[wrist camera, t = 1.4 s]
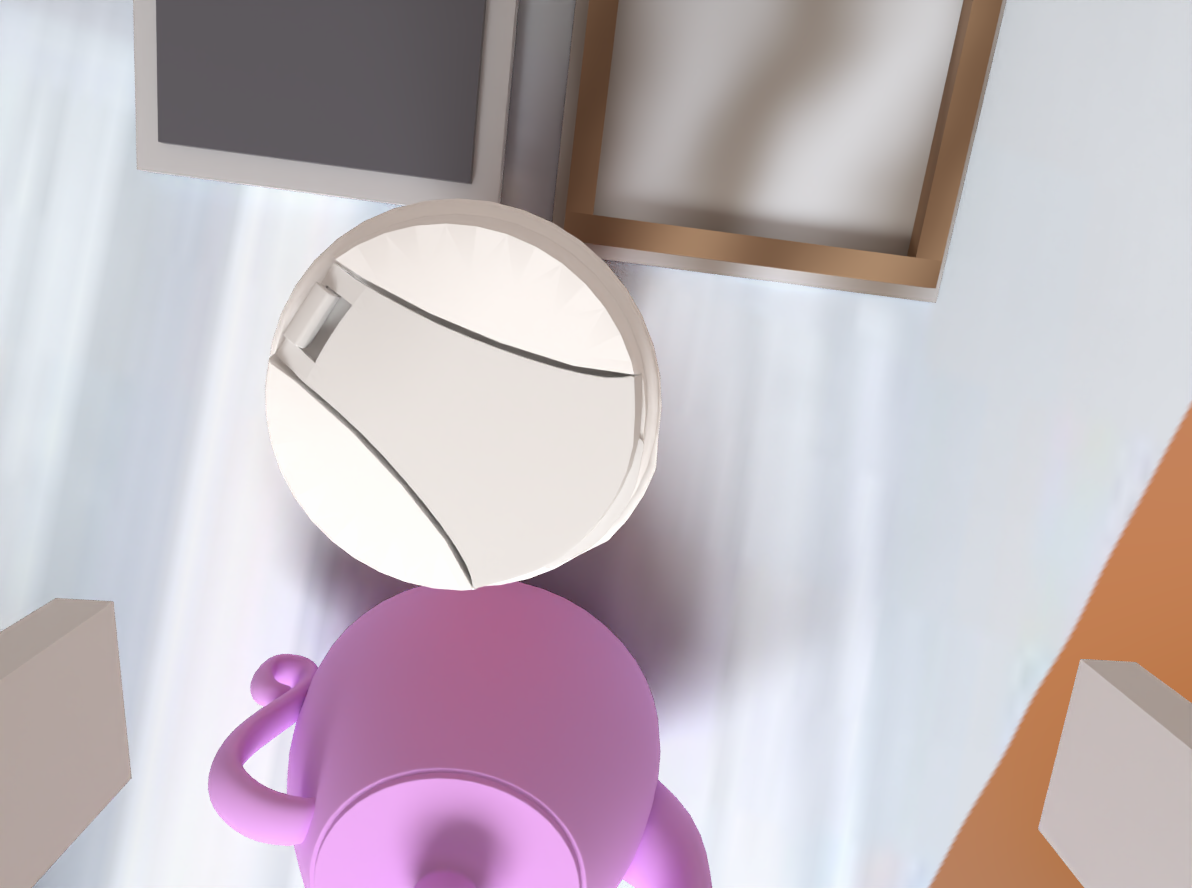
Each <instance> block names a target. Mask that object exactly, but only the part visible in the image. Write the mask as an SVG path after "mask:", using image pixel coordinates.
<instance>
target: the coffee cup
mask: <svg viewBox="0 0 1192 888" xmlns="http://www.w3.org/2000/svg"><path fill="white" fill-rule="evenodd" d="M265 399H266V419H267V424H268V430H269V435H270V441H271V445H272V448H273V451H274V454H275V457H276V460H277V462H278V465H279V468H280V471H281V473H282V475H283V477H284V479H285V481H286V483H287V484H288V486H289V488H290V490H291V492H292V494H293V496H294V497H295V499H296V500H297V502H298V503H299V504H300V506H301V507H302V508H303V510H304V511H305V512H306V514H307V515H308V517H309V518H310V519H311V521H312V522H313V523H314V524H315V525H316V526H317V527H318V528H319V529H320V530H321V531H322V532H323V533H324V534H325V535H326V536H327V537H328V538H329V539H330V540H331V541H332V542H334V543H335V544H336V545H338V546H339V547H340V548H342V549H343V550H344V551H346V552H347V553H348V554H350V555H351V556H352V557H354V558H355V559H357V560H359V561H360V562H362V563H364V564H366V565H368V566H370V567H371V568H373V569H375V570H377V571H379V572H381V573H383V574H386V575H389V576H391V577H394V578H397V579H399V580H402V581H404V582H408V583H412V584H417V585H421V586H426V587H430V588H437V589H450V590H475V589H477V588H479V587H483V586H491V585H502V584H507V583H511V582H516V581H521V580H525V579H529V578H532V577H535V576H537V575H540V574H542V573H545V572H548V571H550V570H553V569H556V568H557V567H559V566H561V565H563V564H564V563H566V562H568V561H570V560H571V559H573V558H575V557H577V556H578V555H580V554H582V553H584V552H586V551H588V550H590V549H592V548H594V547H596V546H598V545H600V544H602V543H604V542H606V541H608V540H609V539H610V538H611V537H612V536H613V535H614V534H615V533H616V532H617V530H618V529H619V528H620V527H621V526H622V525H623V524H624V523H625V522H626V521H627V520H628V518H629V517H630V515H631V514H632V512H633V511H634V509H635V508H636V506H637V505H638V503H639V502H640V500H641V499H642V497H643V496H644V494H645V492H646V490H647V487H648V485H649V483H650V481H651V479H652V476H653V474H654V472H655V470H656V462H657V448H658V435H659V426H660V417H661V408H662V404H661V384H660V373H659V368H658V364H657V359H656V354H655V350H654V345H653V342H652V340H651V337H650V335H649V332H648V330H647V327H646V324H645V322H644V319H643V317H642V315H641V313H640V311H639V309H638V308H637V306H636V304H635V303H634V301H633V299H632V297H631V296H630V294H629V292H628V290H627V289H626V287H625V286H624V285H623V284H622V282H621V281H620V280H619V279H618V277H617V276H616V275H615V274H614V273H613V271H612V270H611V269H610V268H609V266H608V265H607V264H606V263H605V262H604V261H603V260H602V259H601V258H600V257H598V256H597V255H596V254H595V253H594V252H593V251H592V250H591V249H590V248H588V247H587V246H586V245H585V244H584V243H583V242H582V241H580V240H579V239H577V238H576V237H574V236H573V235H571V234H570V233H568V232H566V231H565V230H563V229H562V228H560V227H559V226H557V225H556V224H554V223H552V222H550V221H548V220H545V219H543V218H541V217H539V216H536V215H534V214H532V213H529V212H527V211H525V210H522V209H518V208H515V207H511V206H507V205H503V204H499V203H495V202H491V201H481V200H470V199H460V198H456V199H443V200H429V201H422V202H418V203H414V204H410V205H406V206H402V207H398V208H394V209H391V210H389V211H387V212H385V213H382V214H380V215H378V216H375V217H373V218H371V219H369V220H366V221H364V222H362V223H361V224H359V225H358V226H356V227H355V228H353V229H352V230H350V231H349V232H347V233H346V234H344V235H343V236H341V237H340V238H338V239H337V240H336V241H335V242H334V243H333V244H331V245H330V246H329V247H328V248H327V249H326V250H325V251H324V252H323V253H322V254H321V255H320V256H319V257H318V258H317V259H315V260H314V262H313V263H312V264H311V266H310V267H309V268H308V270H307V271H306V272H305V274H304V275H303V276H302V278H301V279H300V280H299V282H298V283H297V284H296V286H295V288H294V289H293V291H292V293H291V295H290V297H289V299H288V301H287V303H286V305H285V307H284V309H283V311H282V313H281V316H280V319H279V322H278V325H277V328H276V331H275V335H274V338H273V341H272V346H271V353H270V358H269V363H268V370H267V377H266V384H265Z"/></svg>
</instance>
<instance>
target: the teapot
mask: <svg viewBox="0 0 1192 888" xmlns="http://www.w3.org/2000/svg"><path fill="white" fill-rule="evenodd" d="M251 694H252V697H253V699H254V700H255V701H256V702H257V703H258V704H260V705H262V706H264V707H263V708H262V709H260V710H259V711H257V712H256V713H254V714H253V715H252V716H250V717H249V718H248V719H246V720H245V721H244V722H243V723H242V724H240V725H239V726H238V727H237V728H236V729H235V730H234V731H233V732H232V733H231V734H230V735H229V736H228V737H227V739H226V740H225V741H224V743H223V744H222V746H221V747H220V749H219V750H218V752H217V754H216V756H215V758H214V760H213V763H212V766H211V769H210V773H209V781H208V790H209V795H210V800H211V802H212V805H213V807H214V809H215V810H216V812H217V813H218V815H219V816H220V817H221V818H222V819H223V820H224V821H225V822H226V823H227V824H228V825H229V826H230V827H232V828H233V829H234V830H235V831H237V832H239V833H240V834H242V835H244V836H246V837H248V838H251V839H253V840H256V841H259V842H263V843H268V844H274V845H285V846H290V845H294V848H295V852H296V856H297V860H298V864H299V868H300V872H301V875H302V879H303V882H304V886H305V888H617V887H618V885H619V884H620V882H621V880H622V879H623V880H625V881H626V882H628V883H629V884H631V885H632V886H634V887H635V888H712V883H711V876H710V870H709V865H708V860H707V855H706V851H705V848H704V845H703V842H702V838H701V835H700V833H699V831H698V829H697V827H696V825H695V823H694V822H693V820H692V818H691V816H690V814H689V813H688V812H687V810H686V809H685V808H684V807H683V805H682V804H681V803H680V802H679V800H678V799H677V798H676V797H675V796H674V795H673V794H672V793H671V792H670V791H669V790H668V789H667V788H666V787H665V786H664V785H663V784H662V783H661V782H660V781H659V780H658V774H659V762H660V741H659V727H658V717H657V712H656V708H655V703H654V699H653V696H652V693H651V691H650V688H649V686H648V683H647V680H646V678H645V676H644V675H643V673H642V671H641V669H640V667H639V666H638V664H637V662H636V660H635V659H634V658H633V656H632V655H631V654H630V652H629V651H628V650H627V648H626V647H625V646H624V644H623V643H622V642H621V641H620V640H619V639H618V638H617V637H616V636H615V635H614V634H613V633H612V632H611V631H610V630H609V629H608V628H607V627H606V626H605V625H604V624H603V623H601V622H600V621H599V620H598V619H596V618H595V617H594V616H592V615H591V614H590V613H589V612H587V611H586V610H584V609H582V608H581V607H579V606H577V605H576V604H574V603H572V602H571V601H569V600H567V599H565V598H563V597H561V596H558V595H556V594H554V593H551V592H549V591H547V590H545V589H541V588H538V587H535V586H531V585H528V584H525V583H521V582H511V583H507V584H502V585H491V586H483V587H479V588H477V589H475V590H450V589H437V588H430V587H426V586H419V587H416V588H413V589H410V590H407V591H404V592H401V593H399V594H397V595H395V596H393V597H391V598H389V599H387V600H385V601H383V602H381V603H379V604H378V605H376V606H375V607H373V608H372V609H370V610H369V611H367V612H366V613H364V614H363V615H362V616H361V617H359V618H358V619H357V620H356V621H355V622H354V623H353V624H351V625H350V626H349V627H348V628H347V629H346V630H345V631H344V632H343V634H342V635H341V636H340V637H339V638H338V639H337V641H336V642H335V643H334V644H333V645H332V647H331V648H330V650H329V652H328V653H327V655H326V656H325V658H324V660H323V661H322V663H321V664H320V666H319V668H318V667H317V665H316V664H315V663H314V662H313V661H311V660H310V659H308V658H306V657H303V656H299V655H292V654H281V655H276V656H273V657H271V658H269V659H268V660H266V661H265V662H264V663H263V664H262V665H261V666H260V667H259V669H258V670H257V671H256V672H255V674H254V676H253V679H252V682H251ZM296 721H297V722H296ZM295 722H296V726H295V730H294V734H293V739H292V743H291V748H290V754H289V764H288V778H287V794H284V793H280V792H277V791H275V790H272V789H270V788H267V787H266V786H264V785H262V784H260V783H259V782H257V781H256V780H255V779H253V778H252V777H251V776H250V775H249V774H248V773H247V772H246V771H245V769H244V768H243V764H244V763H245V762H246V761H247V760H248V759H249V758H250V757H251V756H252V755H253V754H254V753H255V752H256V751H258V750H259V749H260V748H261V747H263V746H264V745H265V744H267V743H268V742H269V741H271V740H272V739H273V738H275V737H276V736H278V735H279V734H280V733H282V732H283V731H284V730H286V729H287V728H288V727H290V726H291V725H292V724H294V723H295Z"/></svg>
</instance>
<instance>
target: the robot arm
mask: <svg viewBox="0 0 1192 888" xmlns="http://www.w3.org/2000/svg"><path fill="white" fill-rule="evenodd" d="M130 779H131V768H130V759H129V749H128V739H127V729H126V720H125V710H124V700H123V690H122V681H121V671H120V661H119V651H118V641H117V632H116V622H115V612H114V602H113V601H97V600H80V599H63V598H55V599H53V600H52V601H50V602H49V603H47V604H45V605H44V606H42V607H40V608H39V609H37V610H36V611H34V612H32V613H31V614H29V615H27V616H26V617H24V618H23V619H21V620H19V621H18V622H16V623H14V624H13V625H11V626H9V627H8V628H6V629H5V630H3V631H1V632H0V888H32V887H33V886H34V885H35V884H36V883H37V881H38V880H39V879H40V878H41V877H42V876H43V875H44V874H45V873H46V872H47V870H48V869H49V868H50V867H51V866H52V865H53V864H54V863H55V862H56V861H57V859H58V858H59V857H60V856H61V855H62V854H63V853H64V852H65V851H66V850H67V848H68V847H69V846H70V845H71V844H72V843H73V842H74V841H75V840H76V839H77V837H78V836H79V835H80V834H81V833H82V832H83V831H84V830H85V829H86V828H87V826H88V825H89V824H90V823H91V822H92V821H93V820H94V819H95V818H96V817H97V815H98V814H99V813H100V812H101V811H102V810H103V809H104V808H105V807H106V806H107V804H108V803H109V802H110V801H111V800H112V799H113V798H114V797H115V796H116V795H117V793H118V792H119V791H120V790H121V789H122V788H123V787H124V786H125V785H126V784H127V782H128V781H129V780H130ZM1038 829H1039V831H1040V832H1041V833H1042V834H1043V836H1044V837H1045V838H1046V840H1047V841H1048V842H1049V843H1050V844H1051V846H1052V847H1053V848H1054V850H1055V851H1056V852H1057V854H1058V855H1059V856H1060V857H1061V859H1062V860H1063V861H1064V863H1065V864H1066V865H1067V866H1068V868H1069V869H1070V870H1071V871H1072V873H1073V874H1074V875H1075V877H1076V878H1077V879H1078V880H1079V882H1080V883H1081V884H1082V885H1083V887H1084V888H1192V703H1191V702H1189V701H1188V700H1186V699H1185V698H1184V697H1182V696H1181V695H1180V694H1178V693H1177V692H1175V691H1174V690H1173V689H1171V688H1170V687H1169V686H1167V685H1166V684H1165V683H1163V682H1162V681H1161V680H1159V679H1158V678H1156V677H1155V676H1154V675H1152V674H1151V673H1150V672H1148V671H1147V670H1145V669H1144V668H1143V667H1142V666H1140V665H1139V664H1138V663H1136V662H1123V661H1106V660H1089V659H1080V663H1079V668H1078V671H1077V675H1076V680H1075V683H1074V687H1073V692H1072V695H1071V699H1070V703H1069V707H1068V711H1067V715H1066V719H1065V723H1064V727H1063V732H1062V735H1061V740H1060V743H1059V748H1058V752H1057V756H1056V760H1055V764H1054V768H1053V772H1052V776H1051V780H1050V784H1049V788H1048V792H1047V796H1046V800H1045V804H1044V808H1043V812H1042V816H1041V820H1040V824H1039V828H1038Z"/></svg>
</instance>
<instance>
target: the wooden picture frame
mask: <svg viewBox="0 0 1192 888" xmlns="http://www.w3.org/2000/svg"><path fill="white" fill-rule="evenodd" d="M1005 4H1006V0H576V3H575V12H574V21H573V31H572V40H571V49H570V59H569V68H568V77H567V87H566V96H565V105H564V114H563V124H562V133H561V142H560V152H559V161H558V170H557V180H556V189H555V198H554V208H553V217H552V223H554V224H556V225H557V226H559V227H560V228H562V229H563V230H565V231H566V232H568V233H570V234H571V235H573V236H574V237H576V238H577V239H579V240H580V241H582V242H583V243H584V244H585V245H586V246H587V247H588V248H590V249H591V250H592V251H593V252H594V253H595V254H596V255H597V256H598V257H600V258H601V259H604V260H612V261H619V262H627V263H635V264H642V265H650V266H658V267H665V268H673V269H681V270H688V271H696V272H704V273H711V274H719V275H727V276H734V277H742V278H749V279H757V280H765V281H772V282H780V283H788V284H795V285H803V286H811V287H818V288H826V289H834V290H841V291H849V292H857V293H864V294H872V295H880V296H887V297H895V298H903V299H910V300H918V301H926V302H933V303H936V300H937V296H938V292H939V288H940V283H941V279H942V275H943V270H944V266H945V262H946V258H947V253H948V249H949V245H950V240H951V236H952V232H953V227H954V223H955V219H956V215H957V210H958V206H959V202H960V197H961V193H962V189H963V185H964V180H965V176H966V172H967V167H968V163H969V159H970V155H971V150H972V146H973V142H974V137H975V133H976V129H977V124H978V120H979V116H980V112H981V107H982V103H983V99H984V94H985V90H986V86H987V82H988V77H989V73H990V69H991V64H992V60H993V56H994V51H995V47H996V43H997V39H998V34H999V30H1000V26H1001V21H1002V17H1003V13H1004V9H1005Z"/></svg>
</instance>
